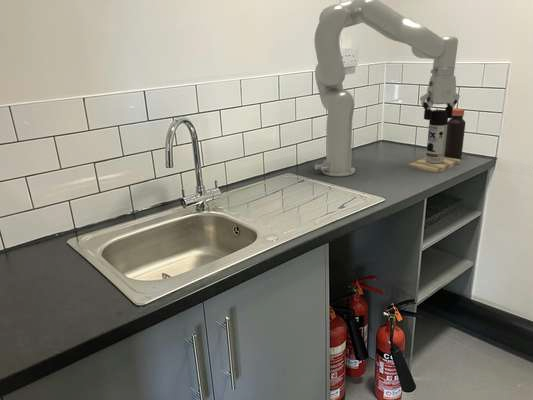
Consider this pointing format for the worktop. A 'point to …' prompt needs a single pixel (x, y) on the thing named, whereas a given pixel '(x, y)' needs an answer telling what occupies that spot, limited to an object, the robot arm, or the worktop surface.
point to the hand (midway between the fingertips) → (437, 118)
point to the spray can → (437, 136)
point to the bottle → (455, 135)
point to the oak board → (434, 165)
